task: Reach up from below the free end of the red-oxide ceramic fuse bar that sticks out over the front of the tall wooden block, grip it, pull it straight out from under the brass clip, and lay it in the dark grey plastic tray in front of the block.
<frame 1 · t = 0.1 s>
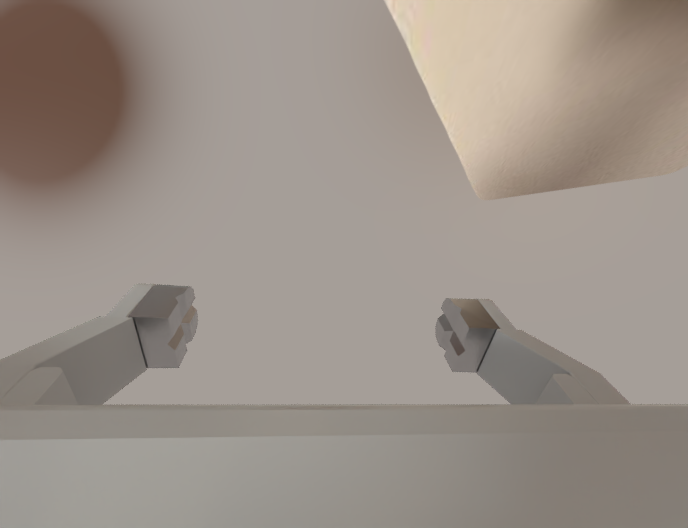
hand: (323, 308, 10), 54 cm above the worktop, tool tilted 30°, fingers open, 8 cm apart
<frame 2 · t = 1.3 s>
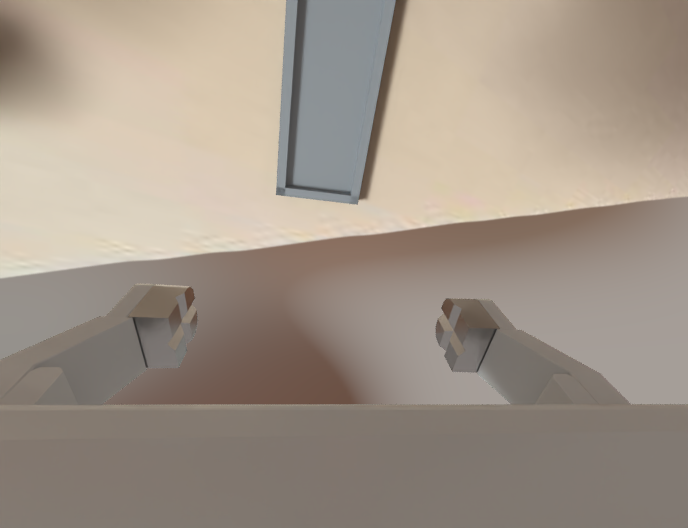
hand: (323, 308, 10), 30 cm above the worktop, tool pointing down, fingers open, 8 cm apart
tray: (330, 88, 34), on the worktop
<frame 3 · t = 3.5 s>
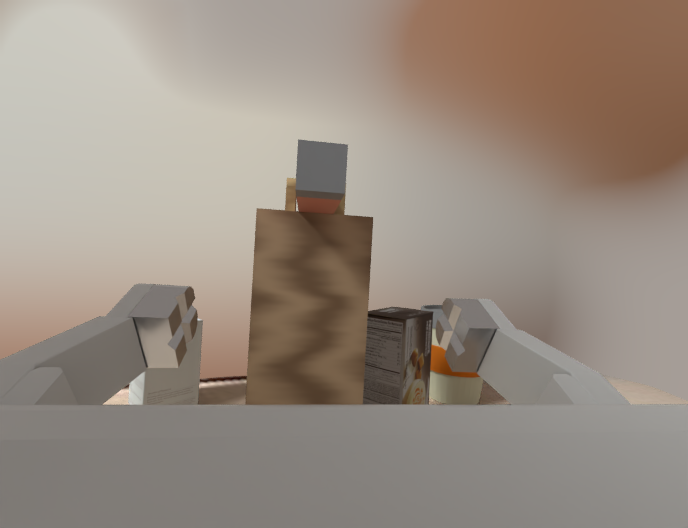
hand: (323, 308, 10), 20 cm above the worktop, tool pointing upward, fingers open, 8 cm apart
reusable coffee cup: (451, 396, 55), on the worktop
coffee box: (393, 434, 41), on the worktop
supplement box: (163, 406, 45), on the worktop
fuse bar: (315, 214, 28), point 26 cm above the worktop, touching tall wooden block
tall wooden block: (300, 475, 32), on the worktop
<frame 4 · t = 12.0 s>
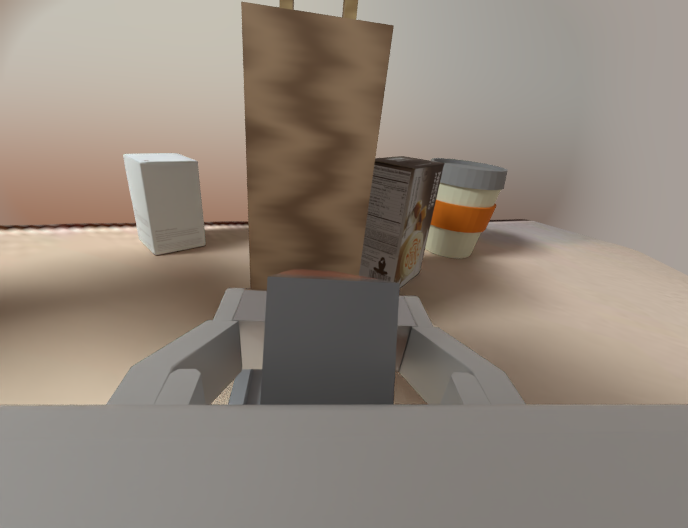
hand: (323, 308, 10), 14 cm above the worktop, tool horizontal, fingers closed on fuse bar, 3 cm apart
reusable coffee cup: (445, 249, 58), on the worktop
coffee box: (387, 277, 45), on the worktop
supplement box: (173, 243, 48), on the worktop
tray: (300, 447, 21), on the worktop
fuse bar: (315, 330, 16), point 10 cm above the worktop, tilted 26°, touching gripper
tall wooden block: (303, 304, 36), on the worktop
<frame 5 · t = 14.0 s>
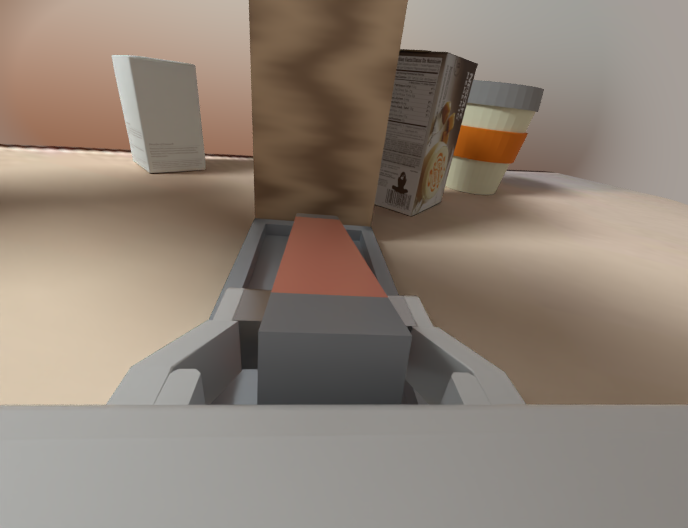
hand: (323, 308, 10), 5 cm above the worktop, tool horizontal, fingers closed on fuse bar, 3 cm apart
reusable coffee cup: (467, 187, 53), on the worktop
coffee box: (405, 204, 41), on the worktop
supplement box: (170, 167, 44), on the worktop
tray: (312, 331, 17), on the worktop
fuse bar: (317, 298, 15), point 3 cm above the worktop, tilted 13°, touching gripper
tall wooden block: (313, 218, 32), on the worktop
when the fingers open (5 cm above the worktop, at t = 14.3 s): fuse bar drops 2 cm, resting on tray.
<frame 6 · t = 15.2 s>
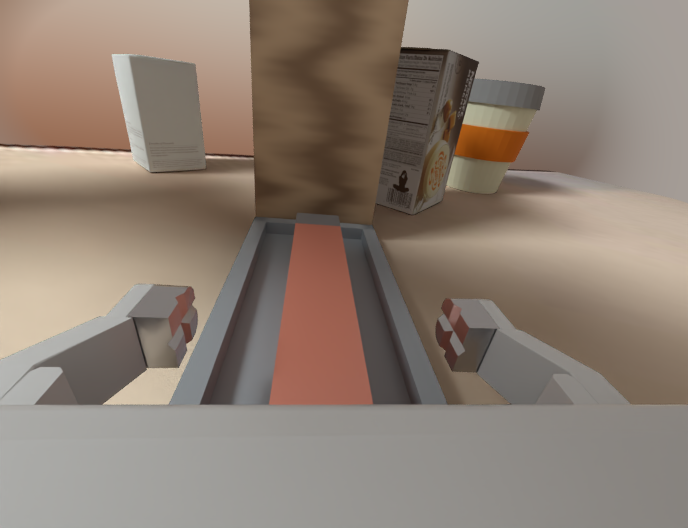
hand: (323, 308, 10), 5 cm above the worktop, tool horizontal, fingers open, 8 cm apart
reusable coffee cup: (468, 186, 53), on the worktop
coffee box: (406, 203, 40), on the worktop
supplement box: (170, 166, 43), on the worktop
tray: (313, 329, 17), on the worktop
fuse bar: (315, 330, 16), point 1 cm above the worktop, touching tray
tall wooden block: (314, 216, 32), on the worktop
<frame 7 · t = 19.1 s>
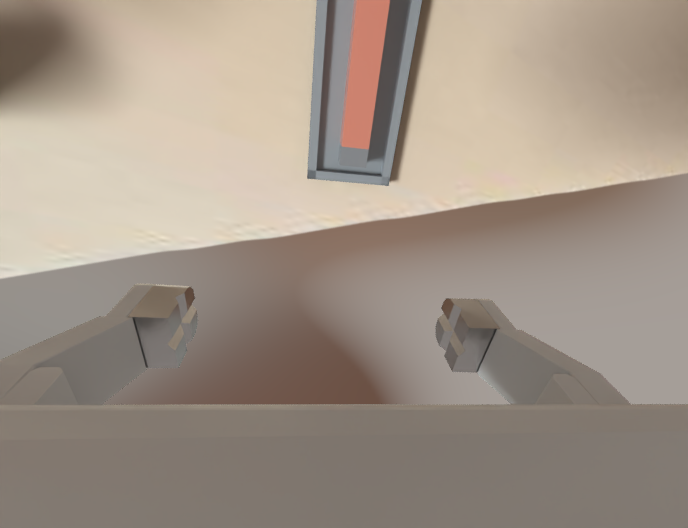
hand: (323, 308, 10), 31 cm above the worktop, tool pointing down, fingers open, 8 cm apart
tray: (360, 67, 33), on the worktop
fuse bar: (360, 74, 33), point 1 cm above the worktop, touching tray
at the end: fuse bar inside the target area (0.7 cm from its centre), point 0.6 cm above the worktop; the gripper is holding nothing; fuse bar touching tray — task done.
